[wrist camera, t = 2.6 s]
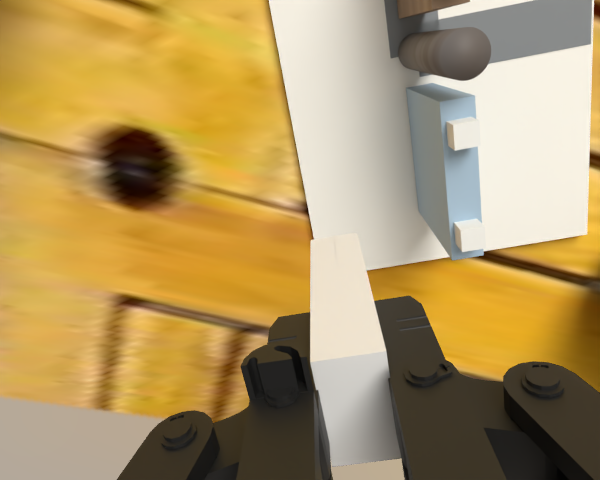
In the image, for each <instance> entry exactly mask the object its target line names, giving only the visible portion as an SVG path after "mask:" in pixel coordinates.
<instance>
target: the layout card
mask: <svg viewBox="0 0 600 480" xmlns="http://www.w3.org/2000/svg"><path fill="white" fill-rule="evenodd" d="M269 5H270V10H271V15H272V21H273V26H274V31H275V37H276V42H277V47H278V52H279V58H280V63H281V68H282V73H283V79H284V84H285V89H286V94H287V100H288V105H289V110H290V116H291V121H292V126H293V131H294V137H295V142H296V147H297V152H298V158H299V163H300V168H301V174H302V179H303V184H304V189H305V195H306V200H307V205H308V210H309V216H310V221H311V226H312V232H313V237H314V239H321V238H327V237H333V236H339V235H345V234H351V233H357V234H358V238H359V242H360V246H361V251H362V255H363V259H364V263H365V267H366V271H367V270H373V269H379V268H385V267H391V266H397V265H404V264H410V263H416V262H422V261H428V260H434V259H440V258H446V257H450V256H449V255H448V254H447V252H446V251H445V249H444V248H443V246H442V245H441V243H440V242H439V240H438V239H437V237H436V236H435V235H434V233H433V232H432V230H431V229H430V227H429V226H428V224H427V223H426V221H425V220H424V218H423V217H422V216H421V214H420V213H419V210H418V200H417V191H416V181H415V171H414V162H413V152H412V142H411V133H410V123H409V113H408V104H407V94H406V88H408V87H413V86H418V85H424V84H429V83H435V84H438V85H441V86H445V87H448V88H452V89H455V90H458V91H462V92H465V93H468V94H472V95H475V104H476V119H478V120H479V123H480V142H481V146H478V159H479V178H480V196H481V215H482V224H483V225H484V226H485V239H486V248H485V249H483V251H489V250H495V249H501V248H507V247H513V246H519V245H526V244H532V243H538V242H544V241H550V240H556V239H562V238H568V237H574V236H580V235H587V217H588V184H589V150H590V116H591V82H592V49H593V15H594V0H470V2H468V3H464V4H460V5H456V6H452V7H448V8H445V9H441V10H437V11H433V12H429V13H425V14H420V15H415V16H410V17H406V18H401V19H399V16H398V7H397V0H269ZM463 27H474V28H477V29H479V30H481V31H482V32H484V33H485V34H486V36H487V37H488V39H489V41H490V44H491V57H490V61H489V63H488V65H487V67H486V68H485V70H484V71H483V72H482V73H481V74H480V75H478V76H477V77H475V78H473V79H471V80H467V81H459V80H454V79H450V78H445V77H441V76H437V75H432V74H428V73H424V72H419V71H415V70H411V69H408V68H406V67H404V66H403V65H402V64H401V62H400V60H399V57H398V49H399V45H400V43H401V41H402V40H403V39H404V38H405V37H406V36H408V35H409V34H412V33H418V32H427V31H436V30H445V29H454V28H463Z"/></svg>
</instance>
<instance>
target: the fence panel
mask: <svg viewBox="0 0 600 480" xmlns="http://www.w3.org/2000/svg"><path fill="white" fill-rule="evenodd" d="M406 94H407V104H408V113H409V123H410V133H411V142H412V152H413V162H414V171H415V181H416V191H417V200H418V210H419V213H420V214H421V216H422V217H423V218H424V220H425V221H426V223H427V224H428V226H429V227H430V229H431V230H432V232H433V233H434V235H435V236H436V237H437V239H438V240H439V242H440V243H441V245H442V246H443V248H444V249H445V251H446V252H447V254H448V255H449V256H450V258H451V259H452V260H457V259H463V258H470V257H476V256H482V255H484V252H483V249H485V248H486V239H485V226H484V225H483V224H482V215H481V196H480V178H479V159H478V146H481V142H480V123H479V120H478V119H476V104H475V95H472V94H468V93H465V92H462V91H458V90H455V89H452V88H448V87H445V86H441V85H438V84H435V83H429V84H424V85H418V86H413V87H408V88H406Z"/></svg>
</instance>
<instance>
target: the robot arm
mask: <svg viewBox="0 0 600 480" xmlns="http://www.w3.org/2000/svg"><path fill="white" fill-rule="evenodd" d="M241 370H242V373H243V377H244V380H245V384H246V388H247V391H248V395H249V399H250V402H249V407H247V408H246V409H244V410H243V411H241V412H240V413H238V414H236V415H234V416H231V417H229V418H226V419H224V420H221V421H218V422H216V423H212V420H211V418H210V417H209V416H208V415H207V414H205V413H204V412H199V411H186V412H181V413H178V414H175V415H173V416H170V417H168V418H167V419H165V420H164V421H162V422H161V423H159V424H158V425H157V426H156V427H155V428H154V429H153V430H152V431H151V432H150V433H149V435H148V436H147V438H146V439H145V440H144V442H143V443H142V445H141V446H140V447H139V449H138V450H137V452H136V453H135V455H134V456H133V458H132V459H131V460H130V462H129V463H128V465H127V466H126V467H125V469H124V470H123V472H122V473H121V474H120V476H119V477H118V479H117V480H333V477H332V473H331V462H332V466H333V467H336V466H344V465H352V464H360V463H367V462H376V461H383V460H392V459H400V458H402V464H403V471H404V477H405V480H600V393H599V392H598V391H597V390H595V389H594V388H593V387H592V386H590V385H589V384H588V383H586V382H585V381H584V380H583V379H581V378H580V377H579V376H577V375H576V374H575V373H573V372H571V371H569V370H568V369H566V368H564V367H562V366H559V365H555V364H552V363H548V362H527V363H521V364H518V365H516V366H514V367H512V368H510V369H509V370H508V371H507V372H506V374H505V375H504V376H503V382H497V381H485V380H478V379H473V378H470V377H467V376H464V375H462V374H460V373H459V372H458V370H457V369H456V368H455V367H454V365H453V364H452V363H450V362H449V361H447V360H445V357H444V355H443V353H442V350H441V348H440V346H439V343H438V341H437V339H436V337H435V334H434V332H433V330H432V327H431V326H430V323H429V320H428V318H427V316H426V313H425V311H424V309H423V306H422V304H421V303H419V302H418V301H416V300H415V299H414V298H412V297H411V296H404V297H398V298H391V299H385V300H378V301H374V299H373V295H372V291H371V287H370V283H369V279H368V275H367V271H366V267H365V263H364V259H363V255H362V251H361V246H360V242H359V238H358V234H357V233H351V234H345V235H339V236H333V237H327V238H321V239H314V240H311V280H310V312H309V313H302V314H296V315H289V316H283V317H278V319H277V320H276V321H275V322H274V324H273V325H272V326H271V327H270V330H269V337H268V343H267V345H265V346H262V347H260V348H258V349H256V350H254V351H252V352H251V353H250V354H249V355H248V356H247V357H246V358H245V359H244V361H243V363H242V365H241ZM330 458H331V462H330Z"/></svg>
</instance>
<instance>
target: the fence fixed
mask: <svg viewBox="0 0 600 480" xmlns="http://www.w3.org/2000/svg"><path fill="white" fill-rule="evenodd" d="M468 2H470V0H397V7H398V16H399V19H401V18H406V17H410V16H415V15H420V14H425V13H429V12H433V11H437V10H441V9H445V8H448V7H452V6H456V5H460V4H464V3H468ZM398 57H399V60H400V62H401V64H402V65H403V66H404V67H406V68H408V69H411V70H415V71H419V72H424V73H428V74H432V75H437V76H441V77H445V78H450V79H454V80H459V81H467V80H471V79H473V78H475V77H477V76H478V75H480V74H481V73H482V72H483V71H484V70H485V68H486V67H487V65H488V63H489V61H490V57H491V44H490V41H489V39H488V37H487V36H486V34H485V33H484V32H482V31H481V30H479V29H477V28H474V27H463V28H454V29H445V30H436V31H427V32H418V33H412V34H409V35H408V36H406V37H405V38H404V39H403V40H402V41H401V43H400V45H399V49H398Z"/></svg>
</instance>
